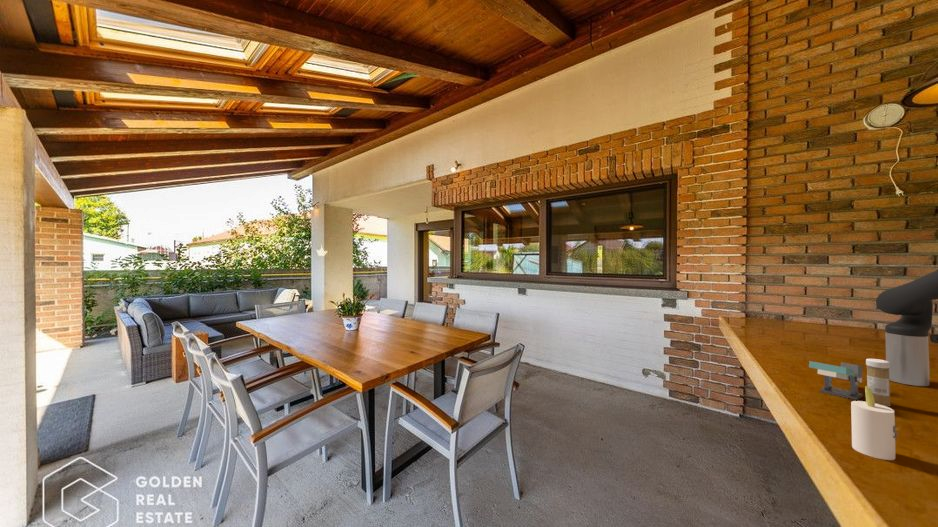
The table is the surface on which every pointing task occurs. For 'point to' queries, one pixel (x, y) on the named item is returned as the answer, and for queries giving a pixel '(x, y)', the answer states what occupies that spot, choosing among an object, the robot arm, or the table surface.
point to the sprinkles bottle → (879, 380)
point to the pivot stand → (841, 392)
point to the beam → (838, 370)
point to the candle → (873, 428)
